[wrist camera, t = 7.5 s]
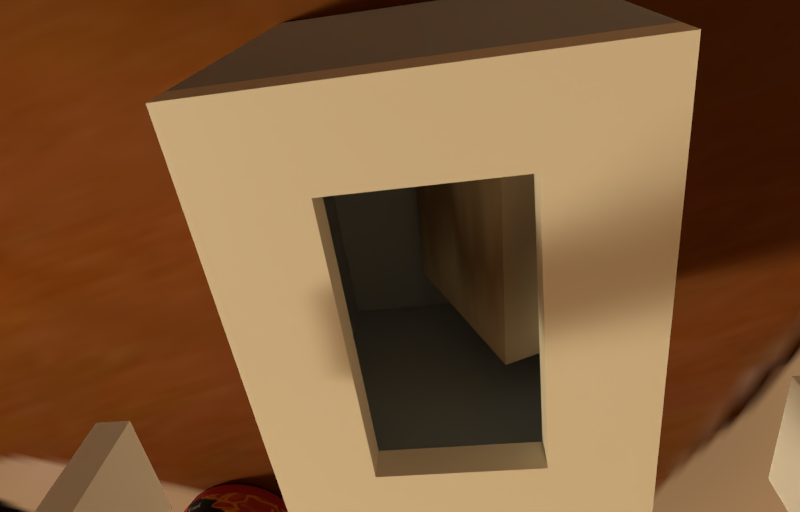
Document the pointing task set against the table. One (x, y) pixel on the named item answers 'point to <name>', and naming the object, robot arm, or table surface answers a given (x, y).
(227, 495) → the canned food
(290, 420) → the box
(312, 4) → the table surface
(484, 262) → the block
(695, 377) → the table surface
